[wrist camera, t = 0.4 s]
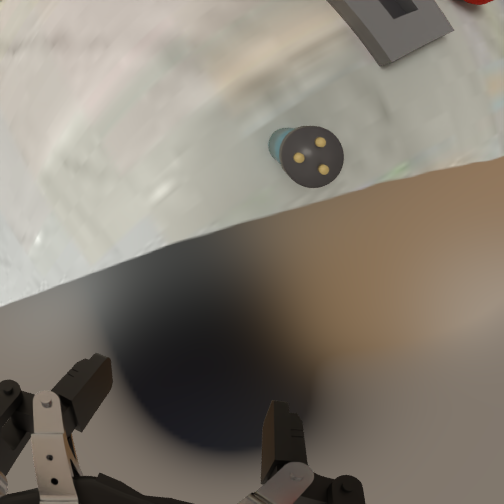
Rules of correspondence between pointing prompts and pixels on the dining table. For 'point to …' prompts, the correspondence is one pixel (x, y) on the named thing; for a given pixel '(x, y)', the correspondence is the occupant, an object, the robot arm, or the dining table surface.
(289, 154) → the plug
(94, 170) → the dining table surface
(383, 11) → the socket block
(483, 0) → the tomato
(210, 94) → the dining table surface
